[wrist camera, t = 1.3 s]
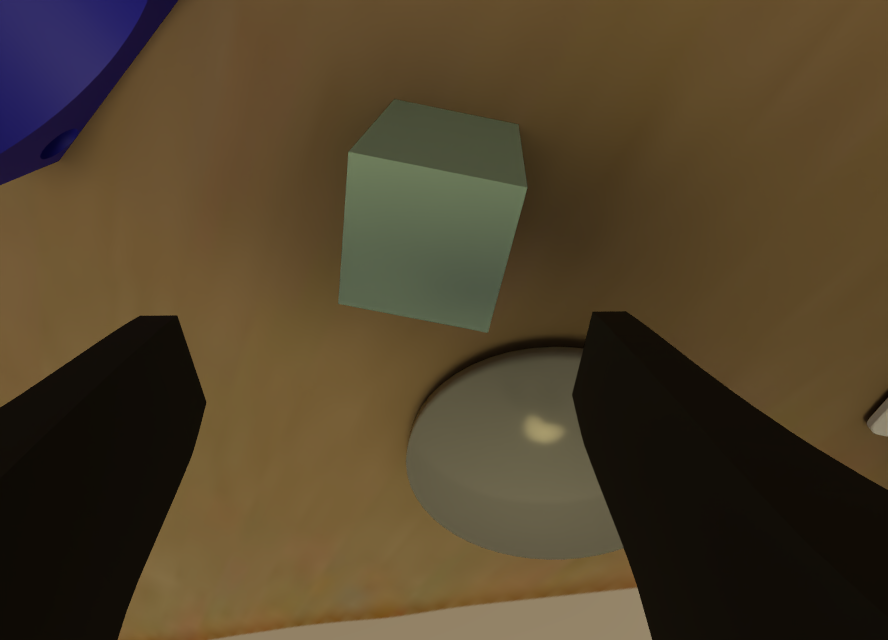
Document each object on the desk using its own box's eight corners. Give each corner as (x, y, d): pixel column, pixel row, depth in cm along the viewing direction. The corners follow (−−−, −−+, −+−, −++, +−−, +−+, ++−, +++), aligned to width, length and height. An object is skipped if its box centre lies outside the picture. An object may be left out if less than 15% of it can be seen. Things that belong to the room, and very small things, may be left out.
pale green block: (518, 124, 16) (527, 187, 11) (490, 237, 18) (487, 332, 14) (394, 99, 16) (348, 151, 11) (381, 216, 18) (338, 303, 13)
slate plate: (750, 371, 21) (766, 396, 19) (629, 551, 28) (635, 578, 27) (434, 310, 20) (429, 332, 19) (395, 508, 28) (390, 533, 26)
